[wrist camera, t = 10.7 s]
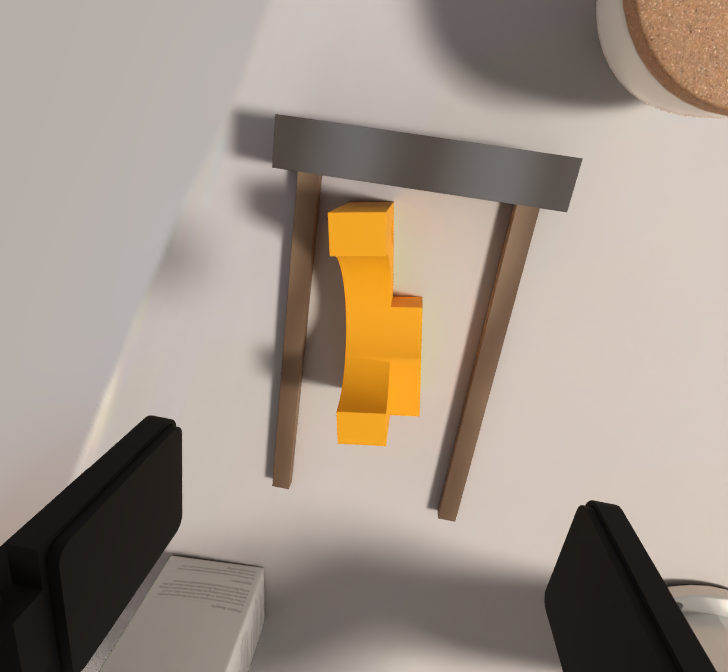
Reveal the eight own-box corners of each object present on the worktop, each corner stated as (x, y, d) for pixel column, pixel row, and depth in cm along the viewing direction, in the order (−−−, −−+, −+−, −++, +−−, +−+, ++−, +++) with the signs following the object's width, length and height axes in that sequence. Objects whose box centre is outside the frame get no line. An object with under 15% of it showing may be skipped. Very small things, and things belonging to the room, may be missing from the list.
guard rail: (560, 159, 24) (582, 158, 21) (462, 515, 33) (467, 553, 29) (294, 121, 25) (275, 114, 22) (267, 477, 33) (251, 510, 30)
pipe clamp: (419, 391, 30) (419, 447, 24) (354, 388, 30) (337, 443, 24) (424, 201, 26) (426, 211, 20) (349, 202, 26) (328, 212, 20)
